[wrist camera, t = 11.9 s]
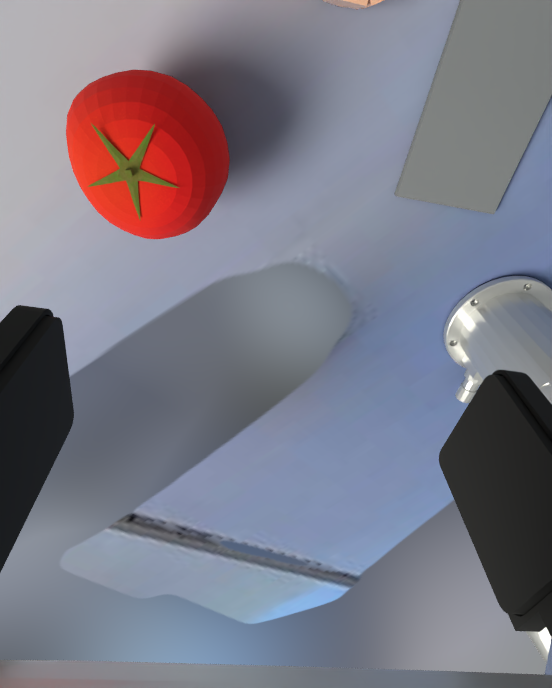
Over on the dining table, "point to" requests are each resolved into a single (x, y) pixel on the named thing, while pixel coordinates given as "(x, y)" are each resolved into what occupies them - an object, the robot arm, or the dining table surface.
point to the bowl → (353, 3)
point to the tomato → (147, 152)
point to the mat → (481, 104)
